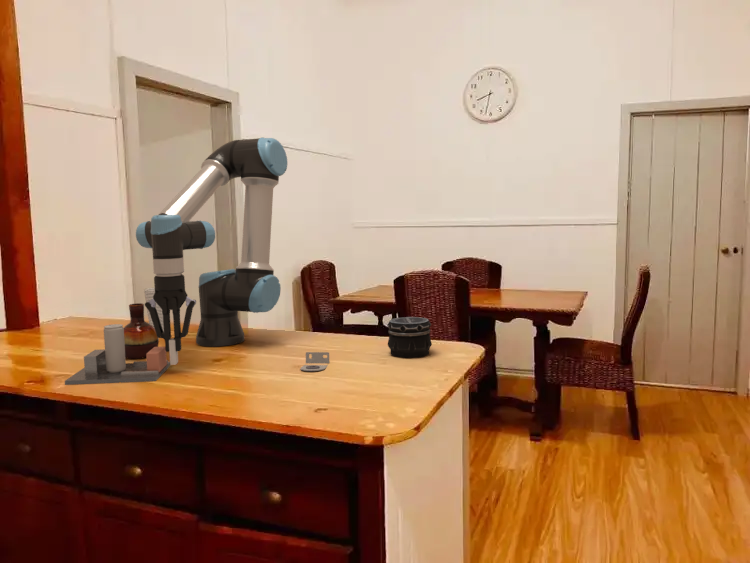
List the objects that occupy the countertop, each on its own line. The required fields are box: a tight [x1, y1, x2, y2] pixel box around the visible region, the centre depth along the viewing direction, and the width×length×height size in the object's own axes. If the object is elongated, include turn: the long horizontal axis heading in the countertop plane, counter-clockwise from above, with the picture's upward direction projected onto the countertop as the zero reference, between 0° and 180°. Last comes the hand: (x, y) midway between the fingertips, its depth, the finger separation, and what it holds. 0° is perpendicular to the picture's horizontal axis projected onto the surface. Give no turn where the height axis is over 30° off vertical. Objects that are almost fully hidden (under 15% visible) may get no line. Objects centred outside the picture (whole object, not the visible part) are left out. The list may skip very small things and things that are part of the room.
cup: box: [143, 287, 164, 332], centre depth 220 cm, size 8×8×16 cm
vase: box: [123, 302, 160, 360], centre depth 185 cm, size 11×11×15 cm
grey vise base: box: [64, 348, 172, 386], centre depth 165 cm, size 22×16×6 cm
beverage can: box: [103, 323, 127, 373], centre depth 165 cm, size 5×5×12 cm
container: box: [386, 316, 432, 359], centre depth 182 cm, size 13×13×10 cm
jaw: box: [145, 346, 167, 372], centre depth 166 cm, size 3×8×5 cm, turn 5°
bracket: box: [300, 351, 330, 372], centre depth 169 cm, size 7×10×4 cm, turn 174°
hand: (174, 363), depth 166 cm, fingers closed
